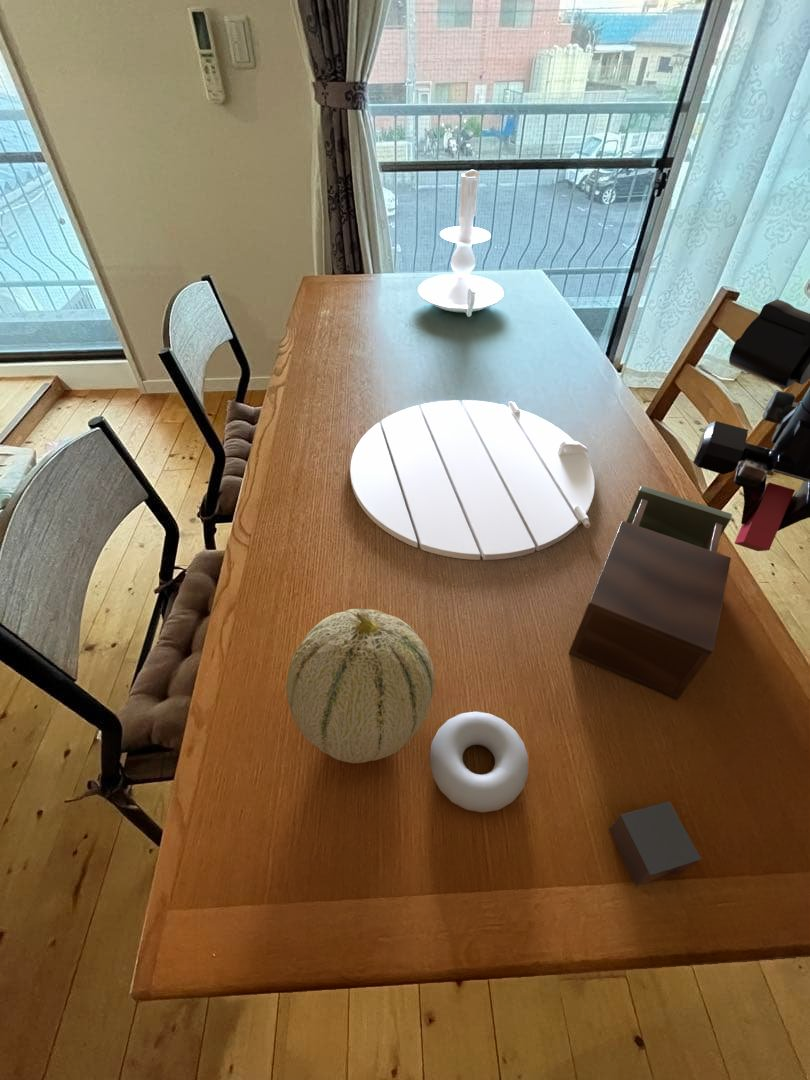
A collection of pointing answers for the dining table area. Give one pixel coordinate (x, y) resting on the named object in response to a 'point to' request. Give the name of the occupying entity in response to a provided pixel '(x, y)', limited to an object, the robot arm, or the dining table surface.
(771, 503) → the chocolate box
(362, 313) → the dining table surface
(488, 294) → the candlestick
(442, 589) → the dining table surface
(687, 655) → the cabinet
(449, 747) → the donut
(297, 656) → the cantaloupe
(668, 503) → the drawer
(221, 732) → the dining table surface
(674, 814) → the stand
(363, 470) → the lazy susan
